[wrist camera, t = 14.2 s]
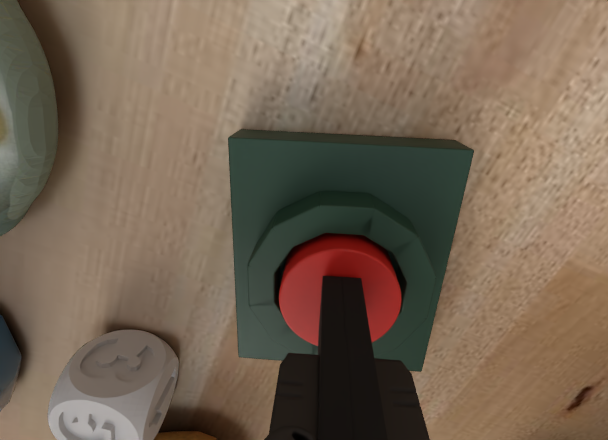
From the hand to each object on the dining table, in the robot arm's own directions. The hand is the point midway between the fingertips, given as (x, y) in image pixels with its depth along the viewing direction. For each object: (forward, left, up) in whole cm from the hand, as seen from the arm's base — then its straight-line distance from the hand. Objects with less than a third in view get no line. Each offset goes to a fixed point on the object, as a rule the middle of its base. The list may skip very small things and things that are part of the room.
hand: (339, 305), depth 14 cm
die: (-9, +12, -5) cm, 16 cm away
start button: (0, 0, -3) cm, 3 cm away
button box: (0, 0, -5) cm, 5 cm away
